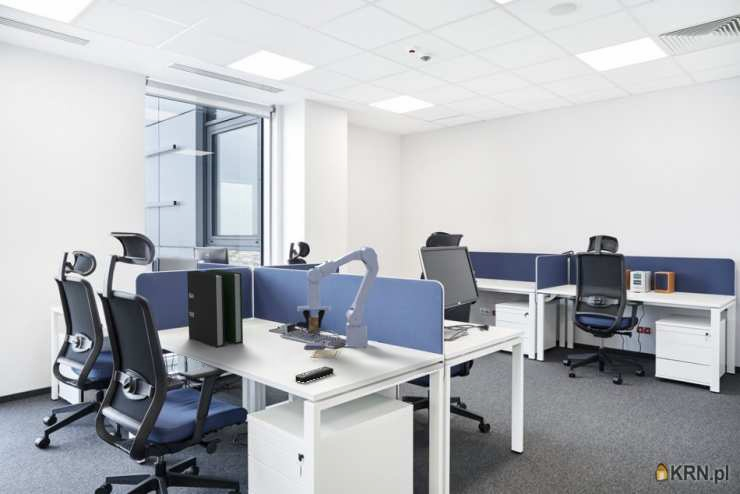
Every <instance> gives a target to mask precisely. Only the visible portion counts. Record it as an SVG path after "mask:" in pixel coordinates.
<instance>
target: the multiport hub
mask: <svg viewBox="0 0 740 494" xmlns="http://www.w3.org/2000/svg"><path fill="white" fill-rule="evenodd" d="M330 374H331V375H334V368H333V367H330V366H323V367H319V368H315V369H313V370H309V371H308V370H307V371H305V372H302V373H299V374H296V375H295V382H297V381H300V382H307V381H310V380H313V379H316V380H318V379H317V378H319V379H321V378H320V377H322V378H324V377H323V376H325V377H327V375H328V376H331V375H330ZM313 381H314V380H313ZM300 382H299V383H300ZM310 382H311V381H310ZM307 383H308V382H307Z"/></svg>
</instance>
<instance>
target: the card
mask: <svg viewBox="0 0 740 494" xmlns="http://www.w3.org/2000/svg"><path fill="white" fill-rule="evenodd" d="M341 352H342V351H341V349H314V351H313V352H312V354H311V355H310V358H339V357H338V356H339V355H340V353H341Z"/></svg>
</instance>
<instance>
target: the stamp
mask: <svg viewBox="0 0 740 494" xmlns="http://www.w3.org/2000/svg"><path fill="white" fill-rule="evenodd" d="M318 324H319V318H318V315H310V317H309V328H308V329H307V335H320V333H321V332H322V329H321V328H319V327H318Z"/></svg>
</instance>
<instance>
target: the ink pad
mask: <svg viewBox="0 0 740 494" xmlns="http://www.w3.org/2000/svg"><path fill="white" fill-rule="evenodd" d="M324 344H325V343H324V342H307V343H306V344H305V346H304V348H303V349H304V350H324V349H325V347H324Z"/></svg>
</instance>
